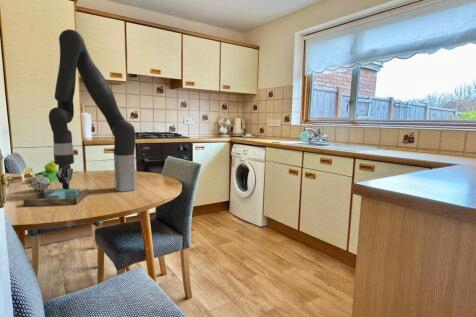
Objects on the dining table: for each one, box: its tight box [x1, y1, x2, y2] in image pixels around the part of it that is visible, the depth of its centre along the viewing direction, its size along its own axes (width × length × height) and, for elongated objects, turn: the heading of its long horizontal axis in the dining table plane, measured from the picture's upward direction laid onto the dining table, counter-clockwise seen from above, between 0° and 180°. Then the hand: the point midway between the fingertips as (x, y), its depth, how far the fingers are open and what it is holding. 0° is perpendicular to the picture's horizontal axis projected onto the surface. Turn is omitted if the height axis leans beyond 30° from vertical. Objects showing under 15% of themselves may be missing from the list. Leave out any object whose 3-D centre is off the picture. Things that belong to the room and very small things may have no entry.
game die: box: [28, 172, 51, 192], centre depth 134 cm, size 9×8×10 cm
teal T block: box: [44, 188, 80, 199], centre depth 122 cm, size 12×11×3 cm
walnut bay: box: [22, 189, 89, 208], centre depth 120 cm, size 19×15×2 cm
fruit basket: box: [33, 160, 59, 184], centre depth 153 cm, size 11×9×11 cm
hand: (66, 191), depth 129 cm, fingers closed
